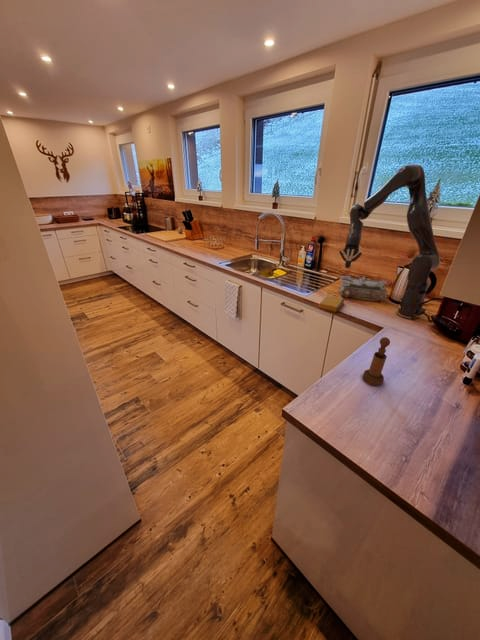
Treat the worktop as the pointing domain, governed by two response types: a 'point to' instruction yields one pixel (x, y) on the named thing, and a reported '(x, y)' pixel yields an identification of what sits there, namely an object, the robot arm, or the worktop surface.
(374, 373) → the brown knobbed pedestal
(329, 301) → the tan upright box
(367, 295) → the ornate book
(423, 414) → the worktop surface
